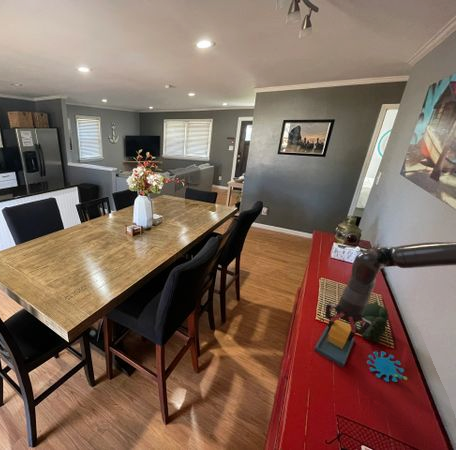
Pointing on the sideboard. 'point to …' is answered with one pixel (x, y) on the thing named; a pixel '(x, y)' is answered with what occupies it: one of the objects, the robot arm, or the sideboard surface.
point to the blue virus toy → (386, 367)
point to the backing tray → (333, 349)
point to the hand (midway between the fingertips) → (339, 332)
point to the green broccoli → (375, 321)
